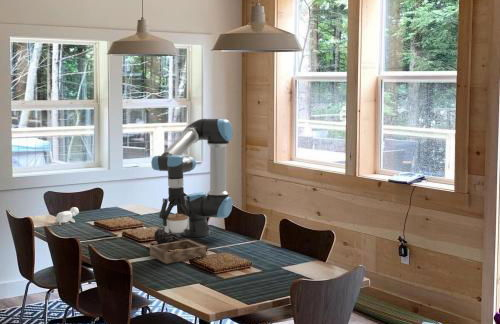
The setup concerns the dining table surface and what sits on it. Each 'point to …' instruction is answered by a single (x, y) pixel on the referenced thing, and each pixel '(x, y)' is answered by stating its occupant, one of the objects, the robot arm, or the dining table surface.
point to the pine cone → (165, 236)
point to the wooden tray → (189, 251)
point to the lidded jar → (177, 222)
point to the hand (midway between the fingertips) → (177, 230)
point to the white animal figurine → (66, 215)
